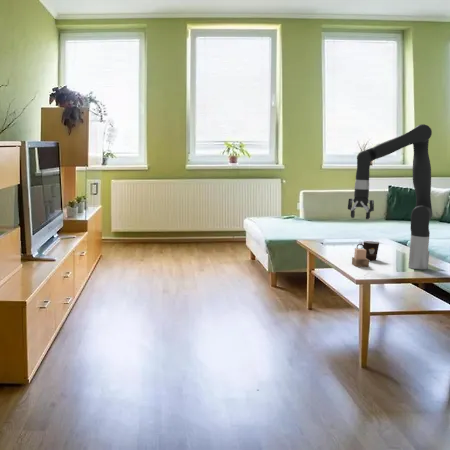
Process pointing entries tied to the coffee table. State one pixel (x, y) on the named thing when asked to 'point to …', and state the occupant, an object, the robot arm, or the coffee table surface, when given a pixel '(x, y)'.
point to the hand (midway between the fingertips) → (360, 218)
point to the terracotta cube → (360, 254)
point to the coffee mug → (370, 249)
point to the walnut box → (360, 262)
